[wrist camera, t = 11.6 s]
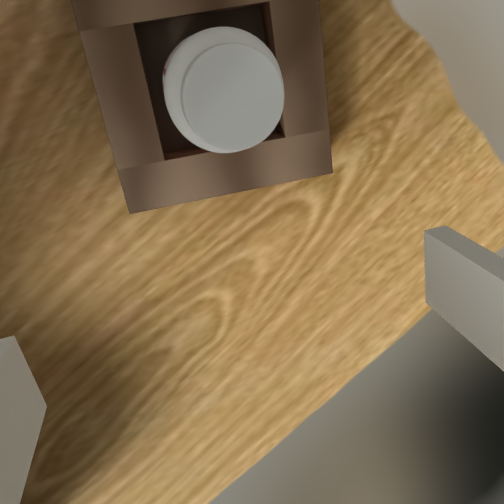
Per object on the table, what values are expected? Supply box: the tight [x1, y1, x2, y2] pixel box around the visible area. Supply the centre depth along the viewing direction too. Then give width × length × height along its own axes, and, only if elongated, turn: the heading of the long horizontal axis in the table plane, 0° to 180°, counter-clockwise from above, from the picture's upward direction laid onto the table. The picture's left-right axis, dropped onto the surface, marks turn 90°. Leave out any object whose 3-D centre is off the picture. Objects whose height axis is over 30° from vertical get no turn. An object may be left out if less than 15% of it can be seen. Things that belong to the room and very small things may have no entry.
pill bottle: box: [162, 27, 284, 153], centre depth 26 cm, size 6×6×11 cm
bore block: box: [71, 0, 333, 214], centre depth 31 cm, size 14×14×4 cm
